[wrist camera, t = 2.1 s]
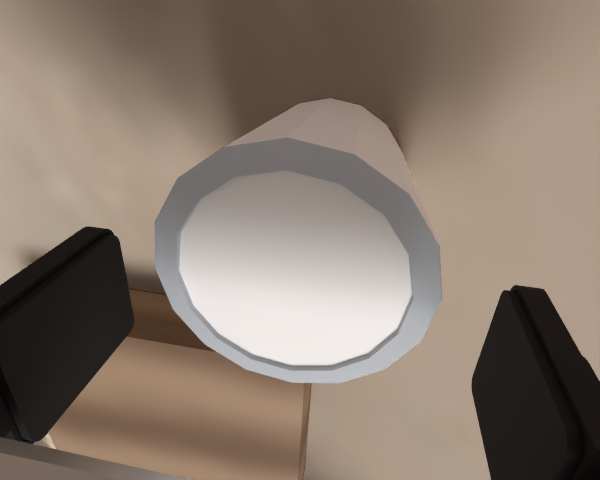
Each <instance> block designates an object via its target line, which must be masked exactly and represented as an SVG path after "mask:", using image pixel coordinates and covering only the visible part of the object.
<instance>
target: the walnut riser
mask: <svg viewBox="0 0 600 480" xmlns="http://www.w3.org/2000/svg"><path fill="white" fill-rule="evenodd" d="M129 293H130V299H131V304H132V309H133V314H134V325H133V328H132V330H131V332H130V333H129V334H128V336H127V337H126V338H125V339H124V340H123V342H122V343H121V344H120V345H119V347H118V348H117V349H116V350H115V351H114V353H113V354H112V355H111V356H110V357H109V359H108V360H107V361H106V362H105V364H104V365H103V366H102V367H101V368H100V370H99V371H98V372H97V373H96V375H95V376H94V377H93V378H92V379H91V381H90V382H89V383H88V384H87V386H86V387H85V388H84V389H83V390H82V392H81V393H80V394H79V395H78V396H77V398H76V399H75V400H74V401H73V403H72V404H71V405H70V406H69V407H68V409H67V410H66V411H65V412H64V414H63V415H62V416H61V417H60V418H59V420H58V421H57V422H56V423H55V425H54V426H53V427H52V428H51V429H50V431H49V434H50V436H51V438H52V440H53V443H54V445H55V447H56V450H61V451H65V452H70V453H74V454H79V455H83V456H88V457H93V458H97V459H102V460H106V461H111V462H115V463H120V464H124V465H129V466H133V467H137V468H142V469H146V470H151V471H155V472H160V473H164V474H169V475H173V476H177V477H182V478H186V479H191V480H303V475H304V470H305V459H306V447H307V434H308V421H309V408H310V395H311V383H291V382H288V381H284V380H281V379H277V378H274V377H270V376H267V375H263V374H260V373H256V372H253V371H249V370H246V369H244V368H243V367H241V366H239V365H238V364H236V363H234V362H233V361H231V360H229V359H228V358H226V357H225V356H223V355H221V354H220V353H218V352H216V351H215V350H213V349H211V348H210V347H208V346H206V345H205V344H204V343H203V342H202V341H201V340H200V339H199V338H198V336H197V335H196V334H195V333H194V332H193V331H192V330H191V329H190V328H189V327H188V326H187V324H186V323H185V322H184V321H183V320H182V319H181V318H180V317H179V316H178V315H177V313H176V312H175V311H174V310H173V308H172V306H171V304H170V301H169V299H168V297H167V295H164V294H157V293H151V292H144V291H138V290H131V289H129Z"/></svg>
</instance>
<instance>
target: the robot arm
mask: <svg viewBox="0 0 600 480" xmlns="http://www.w3.org/2000/svg"><path fill="white" fill-rule="evenodd" d="M133 325H134V314H133V309H132V304H131V299H130V293H129V288H128V283H127V278H126V273H125V267H124V262H123V257H122V252H121V247H120V242H119V239H118V237H116V236H114V234H113V232H112V231H111V230H109V229H104V228H96V227H84V228H82V229H81V230H80V231H78V232H77V233H75V234H74V235H72V236H71V237H69V238H68V239H67V240H65V241H64V242H62V243H61V244H59V245H58V246H56V247H55V248H54V249H52V250H51V251H49V252H48V253H46V254H45V255H43V256H42V257H41V258H39V259H38V260H36V261H35V262H33V263H32V264H30V265H29V266H27V267H26V268H25V269H23V270H22V271H20V272H19V273H17V274H16V275H14V276H13V277H12V278H10V279H9V280H7V281H6V282H4V283H3V284H1V285H0V480H191V479H186V478H182V477H177V476H173V475H169V474H164V473H160V472H155V471H151V470H146V469H142V468H137V467H133V466H129V465H124V464H120V463H115V462H111V461H106V460H102V459H97V458H93V457H88V456H83V455H79V454H74V453H70V452H65V451H61V450H56V449H52V448H47V447H42V446H37V445H33V443H34V442H36V441H39V440H41V439H42V438H43V437H44V436H45V435H46V434H47V433H48V432H49V431H50V429H51V428H52V427H53V426H54V425H55V423H56V422H57V421H58V420H59V418H60V417H61V416H62V415H63V414H64V412H65V411H66V410H67V409H68V407H69V406H70V405H71V404H72V403H73V401H74V400H75V399H76V398H77V396H78V395H79V394H80V393H81V392H82V390H83V389H84V388H85V387H86V386H87V384H88V383H89V382H90V381H91V379H92V378H93V377H94V376H95V375H96V373H97V372H98V371H99V370H100V368H101V367H102V366H103V365H104V364H105V362H106V361H107V360H108V359H109V357H110V356H111V355H112V354H113V353H114V351H115V350H116V349H117V348H118V347H119V345H120V344H121V343H122V342H123V340H124V339H125V338H126V337H127V336H128V334H129V333H130V332H131V330H132V328H133ZM472 394H473V398H474V403H475V407H476V412H477V416H478V421H479V426H480V430H481V435H482V439H483V444H484V448H485V453H486V458H487V462H488V467H489V471H490V476H491V480H600V381H599V380H598V378H597V376H596V374H595V373H594V371H593V369H592V367H591V366H590V364H589V363H588V361H587V360H586V359H585V357H583V356H582V355H581V353H580V351H579V350H578V348H577V346H576V344H575V343H574V341H573V339H572V337H571V335H570V334H569V332H568V330H567V328H566V327H565V325H564V323H563V321H562V320H561V318H560V316H559V314H558V312H557V311H556V309H555V307H554V305H553V304H552V302H551V300H550V298H549V297H548V295H547V293H546V292H545V290H544V289H540V288H533V287H525V286H518V285H515V286H513V287H512V288H511V290H510V291H507V290H504V291H503V292H502V294H501V296H500V299H499V302H498V305H497V307H496V310H495V313H494V316H493V319H492V322H491V325H490V328H489V331H488V333H487V336H486V339H485V342H484V345H483V348H482V351H481V354H480V357H479V359H478V362H477V365H476V368H475V371H474V374H473V377H472Z"/></svg>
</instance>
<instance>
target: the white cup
mask: <svg viewBox="0 0 600 480" xmlns="http://www.w3.org/2000/svg"><path fill="white" fill-rule="evenodd" d="M155 269H156V271H157V273H158V276H159V278H160V280H161V283H162V285H163V287H164V290H165V292H166V294H167V297H168V299H169V301H170V304H171V306H172V308H173V310H174V311H175V312H176V313H177V315H178V316H179V317H180V318H181V319H182V320H183V321H184V322H185V323H186V324H187V326H188V327H189V328H190V329H191V330H192V331H193V332H194V333H195V334H196V335H197V336H198V338H199V339H200V340H201V341H202V342H203V343H204V344H205V345H206V346H208V347H210V348H211V349H213V350H215V351H216V352H218V353H220V354H221V355H223V356H225V357H226V358H228V359H229V360H231V361H233V362H234V363H236V364H238V365H239V366H241V367H243V368H244V369H246V370H249V371H253V372H256V373H260V374H263V375H267V376H270V377H274V378H277V379H281V380H284V381H288V382H291V383H342V382H346V381H349V380H352V379H356V378H359V377H362V376H365V375H369V374H372V373H375V372H378V371H382V370H385V369H386V368H388V367H389V366H390V365H391V364H393V363H394V362H395V361H396V360H398V359H399V358H400V357H402V356H403V355H404V354H405V353H407V352H408V351H409V350H410V349H412V348H413V347H414V346H416V345H417V344H418V343H419V342H421V341H422V339H423V337H424V335H425V333H426V330H427V328H428V326H429V324H430V322H431V320H432V318H433V316H434V314H435V312H436V310H437V308H438V306H439V304H440V302H441V300H442V285H441V263H440V246H439V243H438V241H437V238H436V236H435V233H434V231H433V228H432V226H431V223H430V221H429V218H428V216H427V213H426V211H425V208H424V206H423V203H422V201H421V198H420V196H419V193H418V191H417V188H416V186H415V183H414V181H413V178H412V176H411V173H410V171H409V168H408V166H407V163H406V161H405V158H404V156H403V153H402V151H401V149H400V147H399V146H398V144H397V142H396V140H395V139H394V137H393V135H392V133H391V131H390V130H389V128H388V126H387V125H386V124H385V123H384V122H382V121H381V120H380V119H378V118H377V117H376V116H374V115H373V114H372V113H370V112H369V111H368V110H366V109H365V108H364V107H363V106H361V105H357V104H352V103H348V102H344V101H340V100H336V99H332V98H328V99H322V100H316V101H310V102H304V103H299V104H297V105H296V106H294V107H292V108H290V109H289V110H287V111H285V112H283V113H282V114H280V115H278V116H277V117H275V118H273V119H271V120H270V121H268V122H266V123H264V124H263V125H261V126H259V127H257V128H256V129H254V130H252V131H251V132H249V133H247V134H245V135H244V136H242V137H240V138H238V139H237V140H235V141H233V142H232V143H230V144H228V145H226V146H225V147H223V148H222V149H220V150H219V151H217V152H216V153H214V154H213V155H211V156H210V157H208V158H207V159H205V160H204V161H202V162H201V163H199V164H198V165H196V166H195V167H193V168H192V169H190V170H189V171H188V172H186V173H185V174H183V175H182V176H180V177H179V178H178V179H177V180H176V182H175V184H174V186H173V188H172V190H171V192H170V194H169V196H168V198H167V199H166V201H165V203H164V205H163V207H162V209H161V211H160V213H159V215H158V217H157V218H156V220H155Z"/></svg>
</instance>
